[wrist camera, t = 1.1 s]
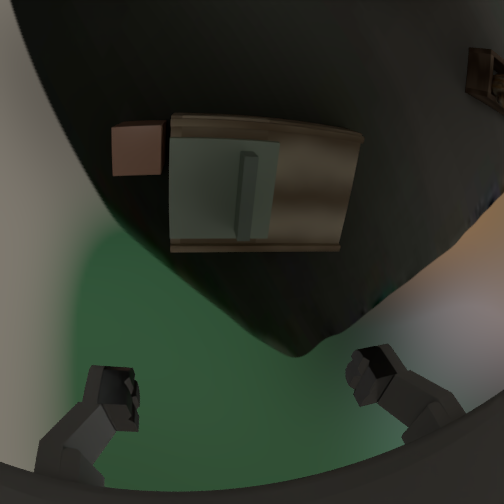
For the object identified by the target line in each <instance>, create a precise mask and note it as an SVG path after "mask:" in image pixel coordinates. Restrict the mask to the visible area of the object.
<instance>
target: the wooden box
mask: <svg viewBox="0 0 504 504" xmlns="http://www.w3.org/2000/svg"><path fill="white" fill-rule="evenodd" d="M171 137H211V138H235V139H252V140H266V141H277V142H279V143H280V148H279V156H278V164H277V172H276V179H275V187H274V194H273V202H272V209H271V217H270V224H269V232H268V239H250V241H237V239H236V238H210V239H171V245H170V250H171V252H300V251H340V247H341V246H340V245H339V240H340V236H341V232H342V228H343V224H344V220H345V215H346V211H347V207H348V202H349V198H350V193H351V189H352V184H353V179H354V174H355V169H356V164H357V159H358V154H359V149H360V143H364V138H365V137H363V136H362V134H361V133H358V132H355V131H353V130H350V129H346V128H341V127H335V126H329V125H323V124H317V123H310V122H303V121H295V120H287V119H278V118H269V117H258V116H245V115H230V114H208V113H174V114H173V115H172V116H171Z"/></svg>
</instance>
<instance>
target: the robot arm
mask: <svg viewBox="0 0 504 504" xmlns="http://www.w3.org/2000/svg"><path fill="white" fill-rule="evenodd" d="M351 357H352V359H353V360H352V361H351V362H350V363H349V364H348V365H347V368H346V380H347V383H348V385H349V386H350V387H352V388H353V389H355V390H354V394H353V395H354V397H355V398H356V401H357V402H358V404H359V406H360V407H361V406H365V405H369V404H373V403H377V402H378V404H379V405H380V406H381V407H383V408H384V409H385V410H386V411H388V412H389V413H390V414H392V415H393V416H394V417H396V418H397V419H398V420H400V421H401V422H402V423H403V424H405V425H406V426H407V427H409V428H408V429H407V430H406V431H405V432H404V433H403V435H402V439H403V441H404V443H405V445H403V446H400V447H398V448H396V449H393V450H391V451H388V452H385V453H383V454H380V455H377V456H375V457H372V458H369V459H366V460H363V461H360V462H357V463H355V464H351V465H348V466H345V467H341V468H338V469H334V470H331V471H327V472H323V473H320V474H315V475H311V476H307V477H303V478H298V479H294V480H289V481H283V482H278V483H272V484H266V485H260V486H252V487H245V488H236V489H226V490H212V491H190V492H160V491H139V490H127V489H115V488H107V487H104V477H103V476H102V475H101V473H100V472H99V471H97V470H96V469H95V467H94V466H93V464H94V462H95V461H96V459H97V458H98V457H99V455H100V454H101V452H102V451H103V450H104V448H105V447H106V445H107V444H108V443H109V441H110V440H111V438H112V437H113V436H114V434H115V433H116V431H133V432H138V428H139V415H138V412H137V410H136V409H137V408H138V407H139V406H140V393H139V386H138V383H137V381H136V380H134V377H135V373H134V370H133V368H127V367H111V366H96V365H92V366H91V367H90V369H89V373H88V378H87V382H86V387H85V391H84V396H83V401H82V402H78V403H77V404H76V405H75V406H74V407H73V408H72V409H71V410H70V411H69V412H68V413H67V414H66V415H65V416H64V417H63V418H62V419H61V420H60V421H59V422H58V423H57V424H56V425H55V426H54V427H53V428H52V429H51V430H50V431H49V432H48V433H47V434H46V435H45V436H44V437H43V438H42V439H41V440H40V441H39V446H38V452H37V457H36V463H35V469H34V473H33V472H30V471H26V470H23V469H20V468H17V467H14V466H11V465H8V464H5V463H2V462H0V504H504V390H503V391H501V392H500V393H498V394H497V395H495V396H494V397H492V398H491V399H489V400H488V401H486V402H485V403H483V404H481V405H480V406H478V407H477V408H475V409H473V410H472V411H470V412H468V413H467V414H466V413H465V411H464V410H463V408H462V407H461V405H460V404H459V402H458V401H457V400H456V398H455V397H454V395H453V394H452V393H451V392H449V391H448V390H445V389H444V388H442V387H440V386H438V385H436V384H435V383H433V382H431V381H429V380H427V379H425V378H424V377H422V376H420V375H418V374H416V373H414V372H413V371H411V370H409V371H407V369H406V368H405V366H404V365H403V364H402V362H401V360H400V359H399V357H398V356H397V355H396V353H395V352H394V350H393V349H392V347H391V346H390V345H389V344H383V345H378V346H373V347H368V348H363V349H358V350H355V351H354V352H353V354H352V356H351Z"/></svg>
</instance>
